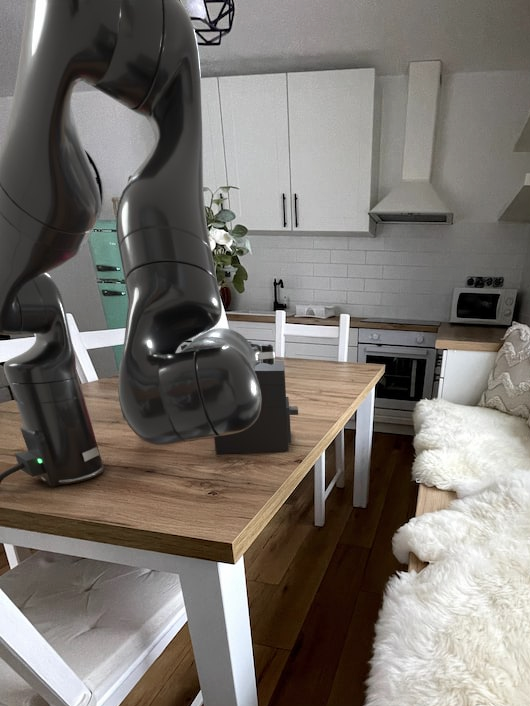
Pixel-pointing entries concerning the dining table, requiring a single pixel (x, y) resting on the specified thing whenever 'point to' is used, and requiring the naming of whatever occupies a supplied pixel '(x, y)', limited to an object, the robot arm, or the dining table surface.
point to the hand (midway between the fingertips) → (235, 347)
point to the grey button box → (265, 417)
